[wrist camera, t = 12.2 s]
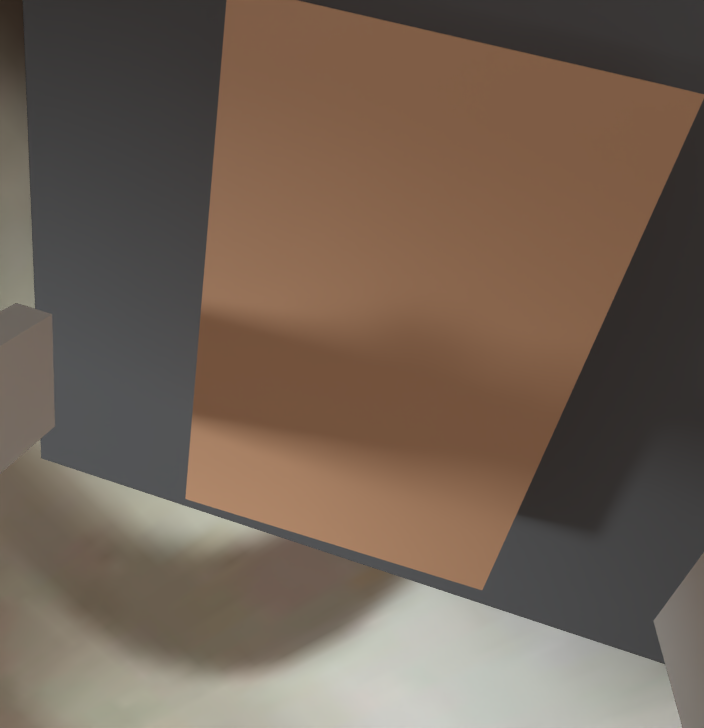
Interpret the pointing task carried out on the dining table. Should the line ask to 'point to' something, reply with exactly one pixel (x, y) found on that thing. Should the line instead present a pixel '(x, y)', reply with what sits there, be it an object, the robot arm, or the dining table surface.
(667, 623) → the robot arm
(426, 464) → the card deck box
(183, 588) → the dining table surface
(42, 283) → the rubber mat
